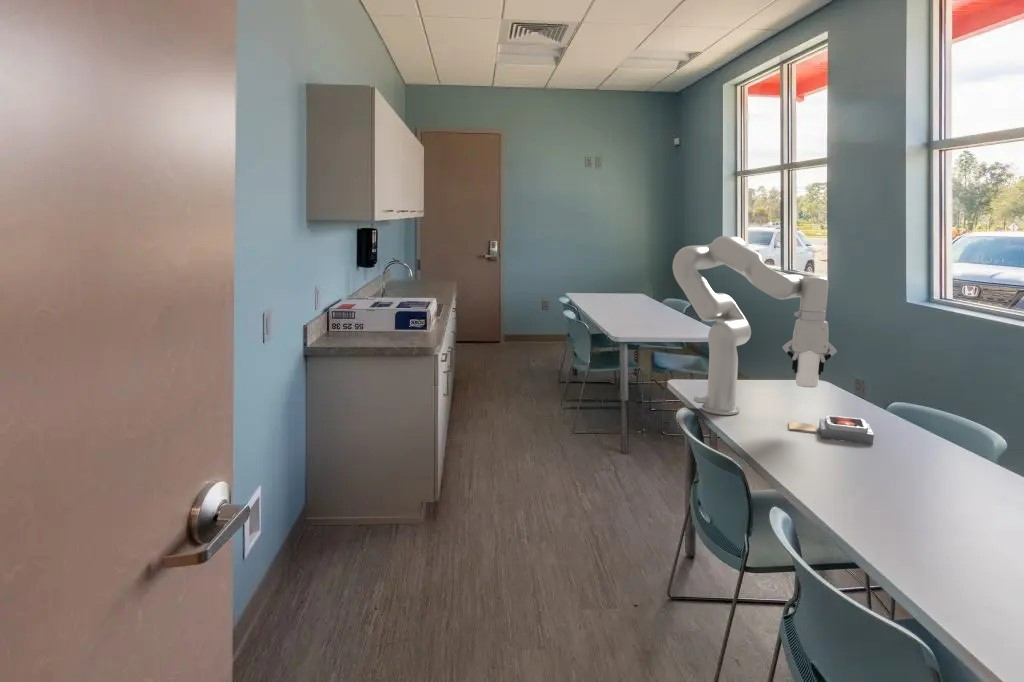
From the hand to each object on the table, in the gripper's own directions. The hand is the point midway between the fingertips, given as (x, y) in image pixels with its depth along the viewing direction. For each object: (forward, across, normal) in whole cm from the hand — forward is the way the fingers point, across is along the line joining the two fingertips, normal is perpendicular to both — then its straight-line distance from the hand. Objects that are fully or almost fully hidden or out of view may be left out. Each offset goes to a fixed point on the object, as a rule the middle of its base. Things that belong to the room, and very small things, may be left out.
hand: (807, 372), depth 209 cm
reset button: (+17, +12, -3) cm, 21 cm away
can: (+4, 0, 0) cm, 4 cm away
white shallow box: (+18, +12, -3) cm, 22 cm away
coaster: (+18, 0, 0) cm, 18 cm away
